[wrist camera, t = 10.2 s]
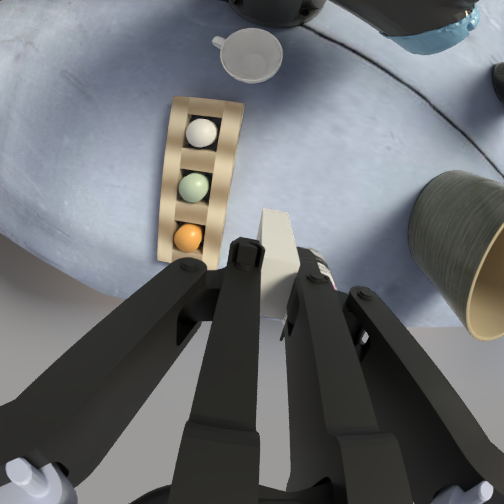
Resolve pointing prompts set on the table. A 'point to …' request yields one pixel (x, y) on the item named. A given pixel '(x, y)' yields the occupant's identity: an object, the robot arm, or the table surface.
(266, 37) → the cup
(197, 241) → the button orange
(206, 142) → the button white
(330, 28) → the table surface
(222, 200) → the wooden ball rack
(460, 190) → the planter
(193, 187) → the button green
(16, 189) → the table surface
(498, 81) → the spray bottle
